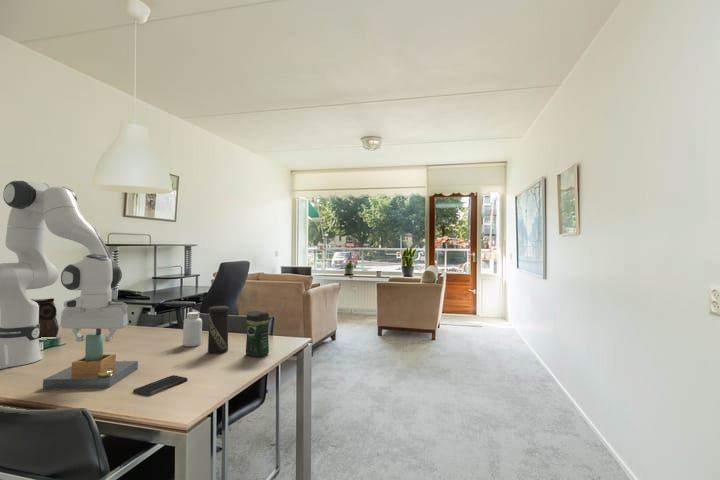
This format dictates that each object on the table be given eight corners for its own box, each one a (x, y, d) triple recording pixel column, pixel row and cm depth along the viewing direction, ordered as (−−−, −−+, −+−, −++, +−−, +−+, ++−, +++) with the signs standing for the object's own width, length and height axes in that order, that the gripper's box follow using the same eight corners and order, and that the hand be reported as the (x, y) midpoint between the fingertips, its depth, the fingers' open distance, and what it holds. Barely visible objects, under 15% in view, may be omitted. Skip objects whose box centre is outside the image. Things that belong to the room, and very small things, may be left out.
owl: (59, 338, 177) (60, 298, 178) (24, 343, 168) (26, 300, 168) (53, 334, 185) (55, 295, 186) (20, 339, 176) (21, 298, 176)
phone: (189, 378, 124) (148, 394, 110) (188, 381, 124) (148, 397, 110) (172, 374, 127) (131, 389, 113) (172, 378, 127) (131, 393, 113)
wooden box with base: (42, 389, 115) (43, 367, 115) (80, 370, 133) (80, 351, 133) (109, 387, 117) (110, 365, 117) (137, 369, 135) (138, 350, 135)
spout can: (81, 371, 122) (82, 327, 123) (90, 367, 127) (91, 324, 128) (97, 371, 123) (98, 327, 123) (105, 366, 128) (107, 324, 128)
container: (202, 353, 156) (203, 307, 156) (215, 347, 165) (216, 304, 165) (220, 355, 154) (221, 308, 154) (232, 349, 163) (233, 304, 163)
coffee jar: (272, 354, 156) (272, 311, 157) (258, 358, 149) (259, 313, 150) (256, 350, 161) (257, 309, 162) (242, 355, 154) (243, 311, 155)
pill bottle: (194, 347, 165) (195, 314, 165) (178, 346, 166) (179, 313, 167) (205, 343, 173) (205, 311, 173) (190, 342, 174) (191, 310, 175)
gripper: (132, 300, 130) (130, 338, 129) (71, 299, 128) (69, 338, 127) (122, 303, 124) (121, 343, 123) (58, 302, 121) (56, 343, 121)
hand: (94, 341), depth 125 cm, fingers open, 8 cm apart
